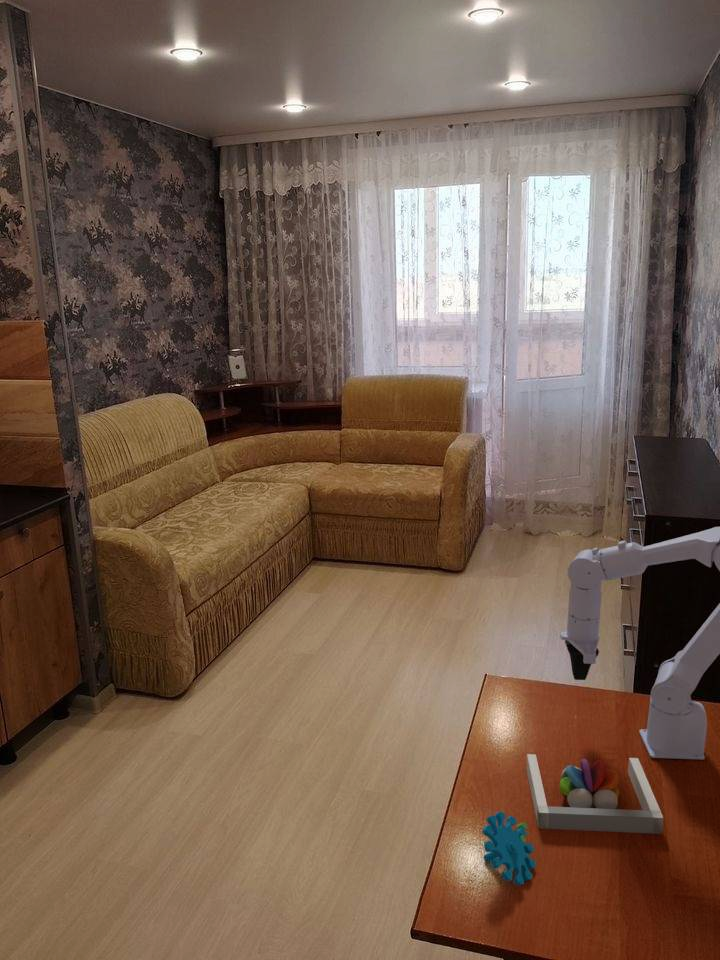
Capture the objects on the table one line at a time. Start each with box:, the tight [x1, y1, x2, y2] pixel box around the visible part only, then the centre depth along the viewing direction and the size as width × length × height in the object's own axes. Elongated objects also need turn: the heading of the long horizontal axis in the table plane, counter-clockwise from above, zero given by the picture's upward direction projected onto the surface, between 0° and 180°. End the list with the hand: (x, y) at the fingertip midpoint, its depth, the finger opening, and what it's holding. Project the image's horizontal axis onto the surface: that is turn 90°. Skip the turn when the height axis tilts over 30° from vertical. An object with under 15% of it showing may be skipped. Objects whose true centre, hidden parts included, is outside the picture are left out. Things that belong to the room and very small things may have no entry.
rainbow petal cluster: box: [558, 758, 620, 809], centre depth 124 cm, size 8×10×7 cm
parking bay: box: [525, 753, 664, 835], centre depth 124 cm, size 19×14×3 cm
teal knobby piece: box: [481, 811, 537, 886], centre depth 111 cm, size 11×6×10 cm
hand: (579, 678), depth 143 cm, fingers closed
